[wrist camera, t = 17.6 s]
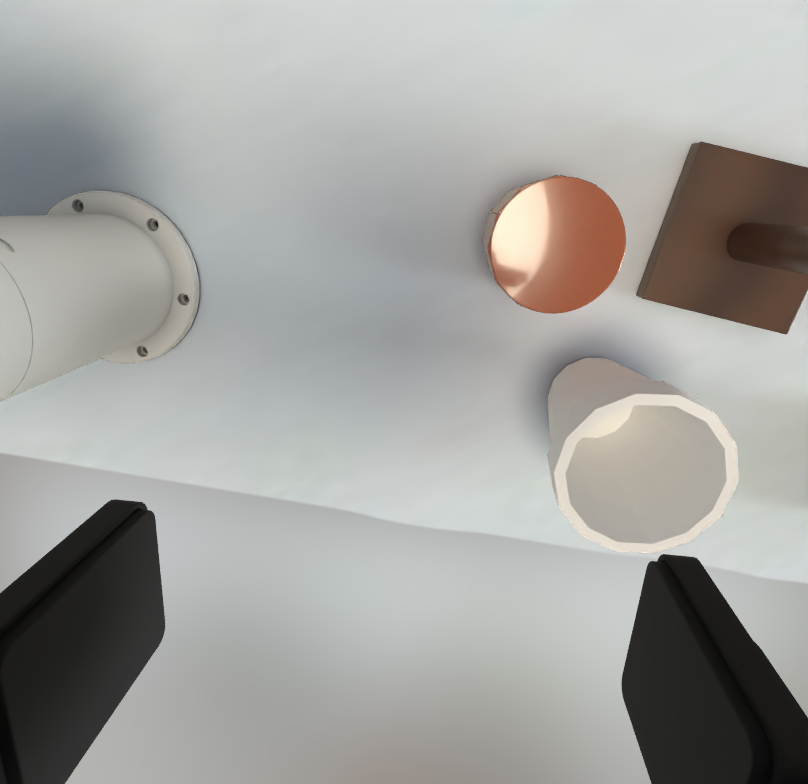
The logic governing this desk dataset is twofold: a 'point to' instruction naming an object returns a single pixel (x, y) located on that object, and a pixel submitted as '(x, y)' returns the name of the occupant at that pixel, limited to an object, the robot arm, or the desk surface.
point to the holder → (733, 239)
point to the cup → (554, 243)
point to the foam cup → (636, 458)
